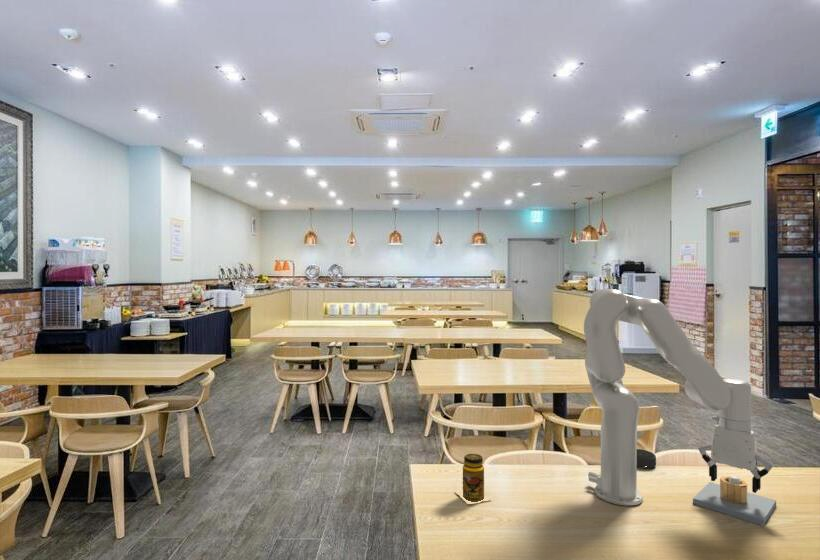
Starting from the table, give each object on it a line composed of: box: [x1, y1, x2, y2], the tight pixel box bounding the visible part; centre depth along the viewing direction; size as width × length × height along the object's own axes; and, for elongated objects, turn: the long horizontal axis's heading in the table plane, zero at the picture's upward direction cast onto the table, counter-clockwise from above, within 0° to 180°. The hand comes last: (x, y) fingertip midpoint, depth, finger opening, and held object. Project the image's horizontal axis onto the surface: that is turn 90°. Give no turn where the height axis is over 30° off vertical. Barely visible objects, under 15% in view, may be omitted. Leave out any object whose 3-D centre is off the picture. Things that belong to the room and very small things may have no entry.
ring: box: [719, 476, 748, 504], centre depth 129 cm, size 6×6×5 cm
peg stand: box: [692, 475, 777, 527], centre depth 128 cm, size 16×16×8 cm
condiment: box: [462, 453, 485, 502], centre depth 132 cm, size 7×8×12 cm
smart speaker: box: [637, 448, 657, 469], centre depth 157 cm, size 9×9×4 cm
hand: (734, 485), depth 129 cm, fingers open, 9 cm apart
